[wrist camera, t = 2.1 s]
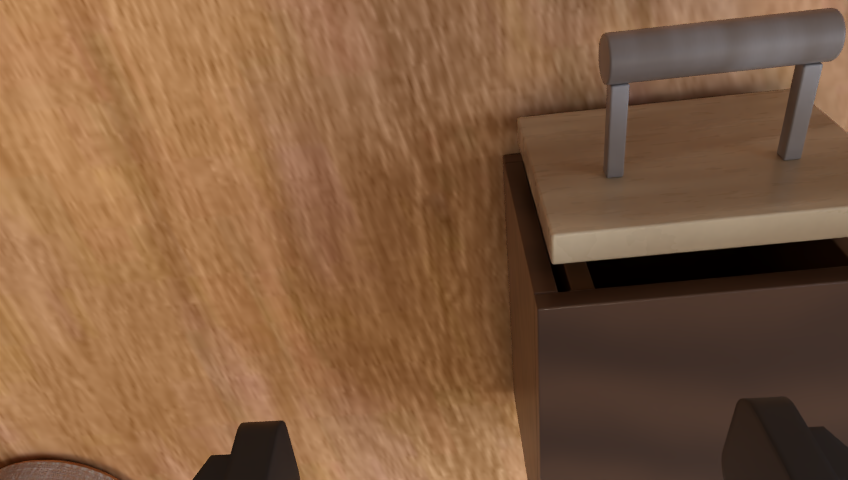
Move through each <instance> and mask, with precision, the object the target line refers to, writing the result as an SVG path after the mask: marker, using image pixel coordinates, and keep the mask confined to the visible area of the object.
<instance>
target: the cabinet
mask: <svg viewBox="0 0 848 480" xmlns="http://www.w3.org/2000/svg"><path fill="white" fill-rule="evenodd" d="M503 175H504V195H505V216H506V237H507V257H508V278H509V299H510V320H511V340H512V361H513V382H514V396H515V402H516V409H517V415H518V422H519V428H520V434H521V441H522V447H523V453H524V459H525V466H526V472H527V478H528V480H724V478H723V473H722V464H721V458H722V451H723V447H724V444H725V441H726V437H727V434H728V430H729V427H730V423H731V420H732V416H733V413H734V410H735V406H736V403H737V402H738V400H740V399H742V398H762V397H781V396H784V397H787V398H789V399H790V400H791V401H792V402H793V403H794V405H795V406H796V408H797V409H798V411H799V413H800V414H801V416H802V418H803V419H804V421H805V423H806V424H807V426H808V427H821V426H824V427H825V428H826V429H827V430H828V431H829V432H831V433H832V434H833V435H834V436H835V437H836V438H838V439H839V440H840V441H841V442H842V443H843V444H845V445H846V446H847V447H848V266H841V267H830V268H819V269H808V270H797V271H786V272H775V273H764V274H753V275H742V276H731V277H720V278H709V279H698V280H687V281H676V282H665V283H654V284H643V285H632V286H621V287H609V288H598V289H587V290H576V291H565V292H558V290H557V287H556V283H555V280H554V276H553V272H552V269H551V265H550V261H549V258H548V254H547V250H546V247H545V243H544V239H543V236H542V232H541V228H540V225H539V221H538V217H537V214H536V206H535V202H534V198H533V195H532V191H531V187H530V184H529V180H528V177H527V173H526V169H525V166H524V162H523V158H522V155H521V154H512V155H504V156H503Z"/></svg>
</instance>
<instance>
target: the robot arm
mask: <svg viewBox="0 0 848 480" xmlns="http://www.w3.org/2000/svg"><path fill="white" fill-rule="evenodd" d="M721 464H722V473H723V478H724V480H848V447H847V446H846V445H845V444H843V443H842V442H841V441H840V440H839V439H838V438H836V437H835V436H834V435H833V434H832V433H831V432H829V431H828V430H827V429H826V428H825V427H824V426H821V427H808V426H807V424H806V423H805V421H804V419H803V418H802V416H801V414H800V413H799V411H798V409H797V408H796V406H795V405H794V403H793V402H792V401H791V400H790V399H789V398H787V397H784V396H781V397H762V398H742V399H740V400H738V402H737V403H736V406H735V410H734V413H733V416H732V420H731V423H730V427H729V430H728V434H727V437H726V441H725V444H724V447H723V451H722V458H721ZM193 480H300V476H299V471H298V467H297V463H296V460H295V456H294V452H293V449H292V445H291V441H290V438H289V434H288V430H287V427H286V424H285V422H284V421H265V422H246V423H241V424H240V426H239V428H238V430H237V433H236V436H235V440H234V444H233V447H232V451H231V454H229V455H211V456H210V457H209V459H208V460H207V461H206V463H205V464H204V465H203V467H202V468H201V469H200V471H199V472H198V473H197V475H196V476H195V477H194V478H193Z"/></svg>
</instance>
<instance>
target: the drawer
mask: <svg viewBox="0 0 848 480" xmlns="http://www.w3.org/2000/svg"><path fill="white" fill-rule="evenodd" d="M845 33H846V29H845V22H844V18H843V16H842V14H841V13H840V11H838V10H837V9H835V8H825V9H816V10H807V11H798V12H789V13H780V14H771V15H762V16H753V17H744V18H735V19H726V20H717V21H708V22H699V23H690V24H681V25H672V26H663V27H654V28H645V29H636V30H627V31H618V32H609V33H604V34H603V35H602V36H601V39H600V43H599V69H600V74H601V78H602V81H603V83H604V84H605V85H607V98H606V108H603V109H594V110H584V111H575V112H565V113H556V114H546V115H537V116H527V117H519V118H518V119H517V133H518V144H519V148H520V151H521V155H522V158H523V162H524V166H525V169H526V173H527V177H528V180H529V184H530V187H531V191H532V195H533V198H534V202H535V206H536V214H537V217H538V221H539V225H540V228H541V232H542V236H543V239H544V243H545V247H546V250H547V254H548V258H549V261H550V265H551V269H552V272H553V276H554V280H555V283H556V287H557V290H558V292H565V291H576V290H587V289H598V288H609V287H621V286H632V285H643V284H654V283H665V282H676V281H687V280H698V279H709V278H720V277H731V276H742V275H753V274H764V273H775V272H786V271H797V270H808V269H819V268H830V267H841V266H848V132H846V131H845V130H844V129H843V128H842V127H840V126H839V125H838V124H837V123H836V122H834V121H833V120H832V119H831V118H830V117H828V116H827V115H826V114H825V113H824V112H822V111H821V110H820V109H819V108H818V107H816V106H815V105H814V100H815V96H816V91H817V87H818V83H819V79H820V74H821V70H822V63H820V62H829V61H832V60H834V59H835V58H837V57H838V55H839V54H840V52H841V50H842V48H843V45H844V41H845ZM792 65H795V69H794V74H793V79H792V83H791V88H790V89H784V90H775V91H765V92H756V93H746V94H737V95H727V96H718V97H708V98H699V99H689V100H680V101H670V102H660V103H651V104H641V105H632V106H628V100H629V84H628V83H633V82H642V81H651V80H661V79H670V78H679V77H689V76H698V75H707V74H717V73H726V72H735V71H745V70H754V69H764V68H773V67H782V66H792Z"/></svg>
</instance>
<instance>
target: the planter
mask: <svg viewBox="0 0 848 480" xmlns="http://www.w3.org/2000/svg"><path fill="white" fill-rule="evenodd" d="M0 480H119V479H117V478H116V477H114V476H112V475H111V474H109V473H107V472H104V471H102V470H99V469H97V468H94V467H91V466H88V465H85V464H81V463H76V462H71V461H64V460H30V461H24V462H19V463H14V464H11V465H7V466H5V467H2V468H0Z"/></svg>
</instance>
